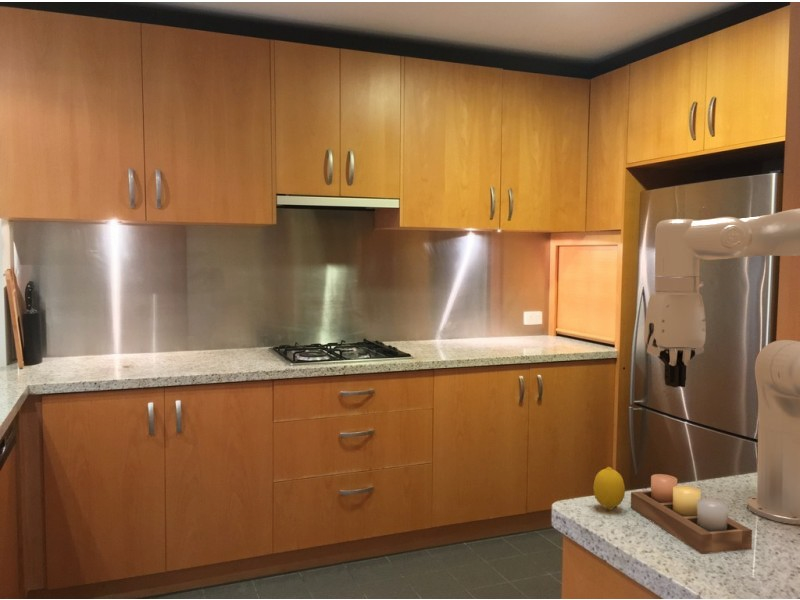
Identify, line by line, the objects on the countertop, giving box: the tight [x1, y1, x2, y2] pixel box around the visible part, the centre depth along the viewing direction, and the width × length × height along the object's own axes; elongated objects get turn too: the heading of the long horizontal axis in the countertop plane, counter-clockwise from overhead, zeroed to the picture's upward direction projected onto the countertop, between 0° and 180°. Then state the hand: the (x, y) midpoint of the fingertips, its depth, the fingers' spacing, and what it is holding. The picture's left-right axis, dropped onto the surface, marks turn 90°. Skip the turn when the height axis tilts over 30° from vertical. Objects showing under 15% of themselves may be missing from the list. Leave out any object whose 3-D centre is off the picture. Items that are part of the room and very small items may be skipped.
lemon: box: [592, 466, 626, 511], centre depth 118 cm, size 6×6×8 cm
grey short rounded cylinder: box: [697, 497, 729, 532], centre depth 103 cm, size 4×4×4 cm
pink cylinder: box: [650, 473, 678, 503], centre depth 116 cm, size 4×4×4 cm
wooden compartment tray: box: [630, 490, 753, 555], centre depth 110 cm, size 9×20×3 cm, turn 11°
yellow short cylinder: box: [673, 484, 702, 517], centre depth 110 cm, size 4×4×4 cm
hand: (675, 385), depth 118 cm, fingers closed
